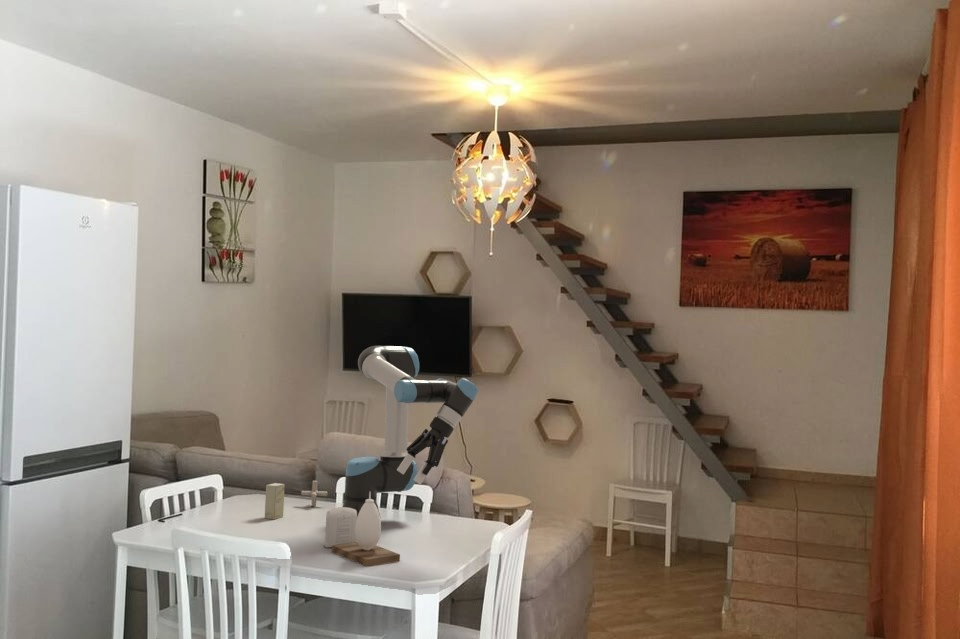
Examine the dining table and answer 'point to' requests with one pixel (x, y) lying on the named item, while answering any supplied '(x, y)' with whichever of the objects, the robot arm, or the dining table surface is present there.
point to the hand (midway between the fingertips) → (408, 477)
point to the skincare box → (274, 501)
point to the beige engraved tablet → (340, 526)
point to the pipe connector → (314, 493)
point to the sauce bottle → (368, 525)
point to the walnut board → (365, 554)
